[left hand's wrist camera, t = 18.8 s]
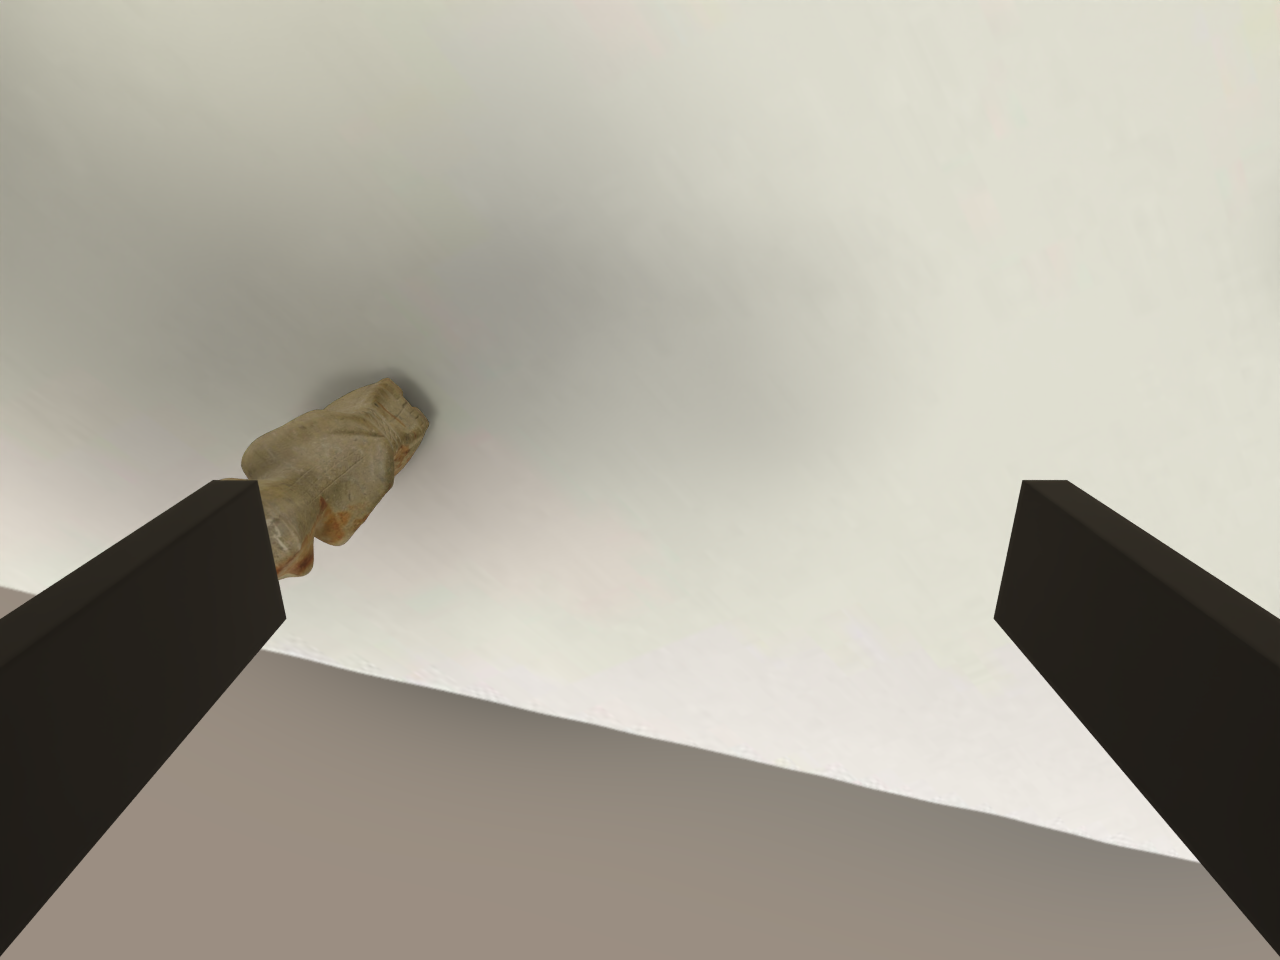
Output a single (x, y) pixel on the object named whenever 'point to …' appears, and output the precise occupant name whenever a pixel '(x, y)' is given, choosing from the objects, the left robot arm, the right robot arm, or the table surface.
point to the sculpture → (331, 470)
